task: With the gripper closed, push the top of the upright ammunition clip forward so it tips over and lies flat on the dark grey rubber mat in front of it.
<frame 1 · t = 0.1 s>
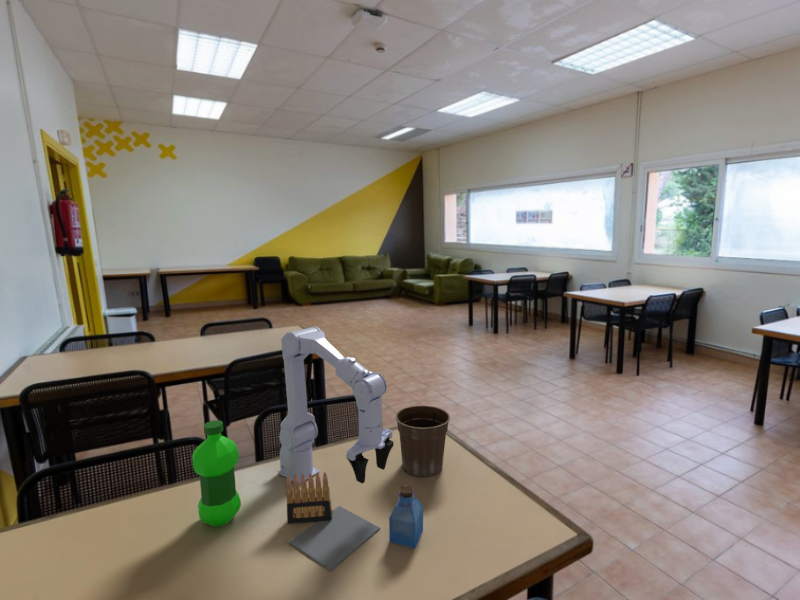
hand: (371, 474, 107), 10 cm above the table, tool pointing down, fingers open, 7 cm apart
plant pot: (422, 466, 129), on the table
ammunition clip: (310, 520, 105), on the table, touching rubber mat
perfume bottle: (406, 536, 100), on the table
plastic bottle: (220, 520, 106), on the table
rubber mat: (335, 535, 100), on the table
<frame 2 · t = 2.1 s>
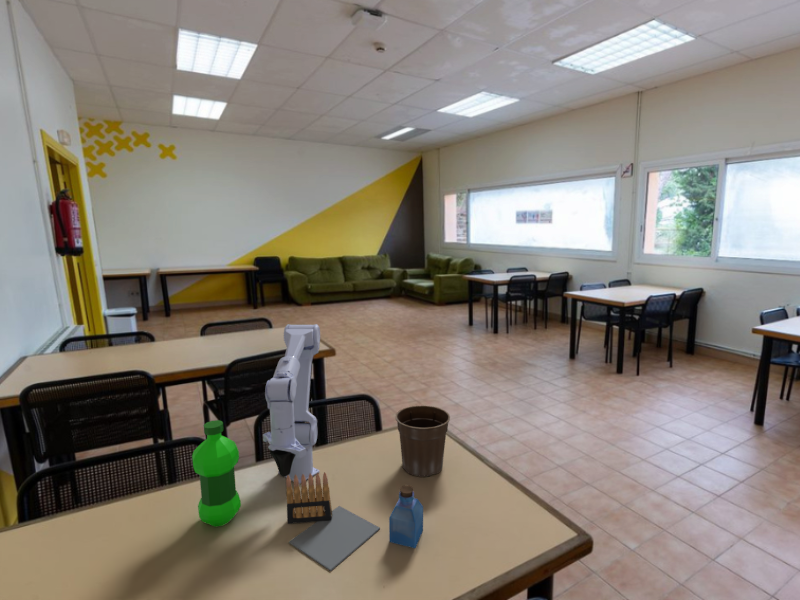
hand: (285, 474, 109), 9 cm above the table, tool pointing down, fingers closed
nothing on the table moved.
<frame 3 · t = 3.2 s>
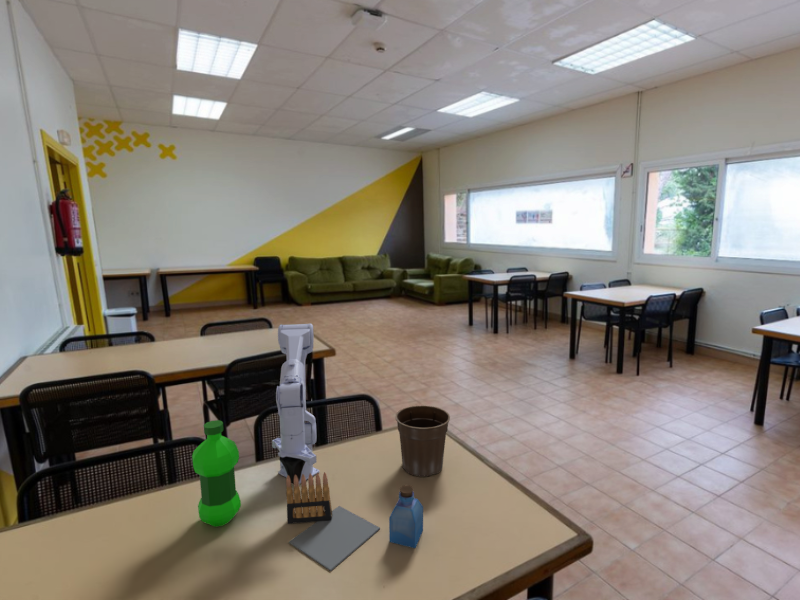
hand: (294, 481, 107), 8 cm above the table, tool pointing down, fingers closed
nothing on the table moved.
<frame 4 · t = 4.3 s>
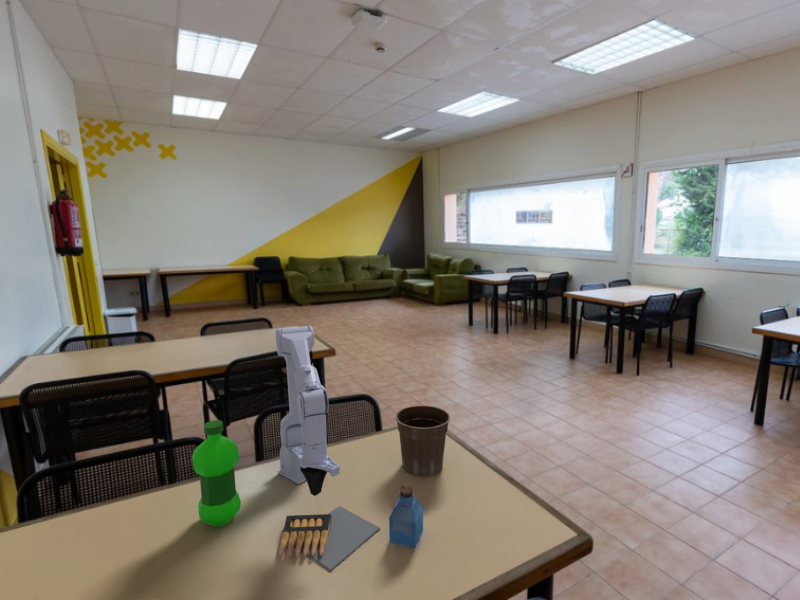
hand: (316, 493, 102), 8 cm above the table, tool pointing down, fingers closed
ammunition clip: (309, 517, 104), point 1 cm above the table, touching rubber mat
everything else where it was.
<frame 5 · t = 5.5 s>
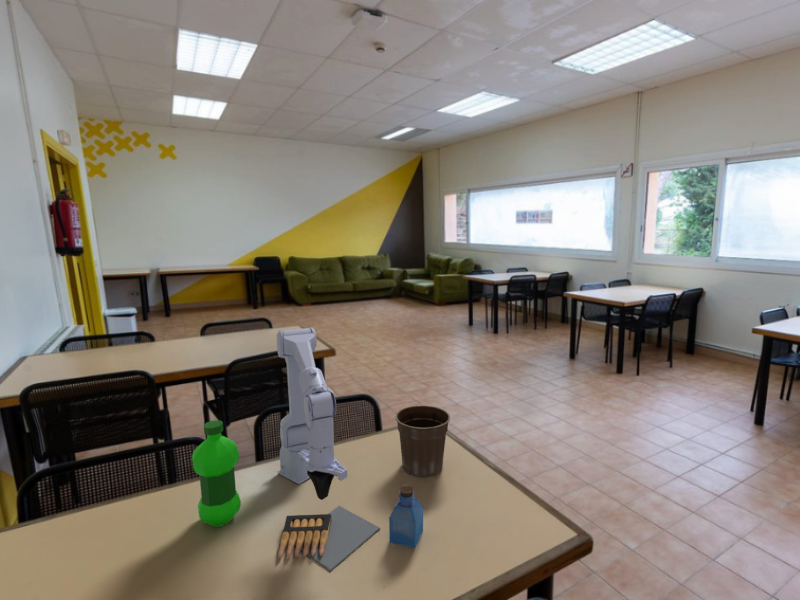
hand: (323, 496, 101), 8 cm above the table, tool pointing down, fingers closed
nothing on the table moved.
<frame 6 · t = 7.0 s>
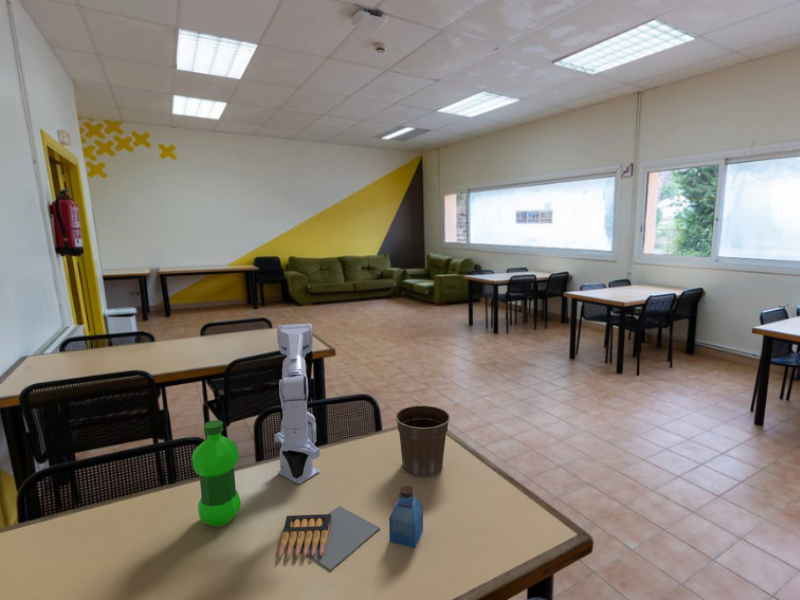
hand: (297, 476, 106), 10 cm above the table, tool pointing down, fingers closed
nothing on the table moved.
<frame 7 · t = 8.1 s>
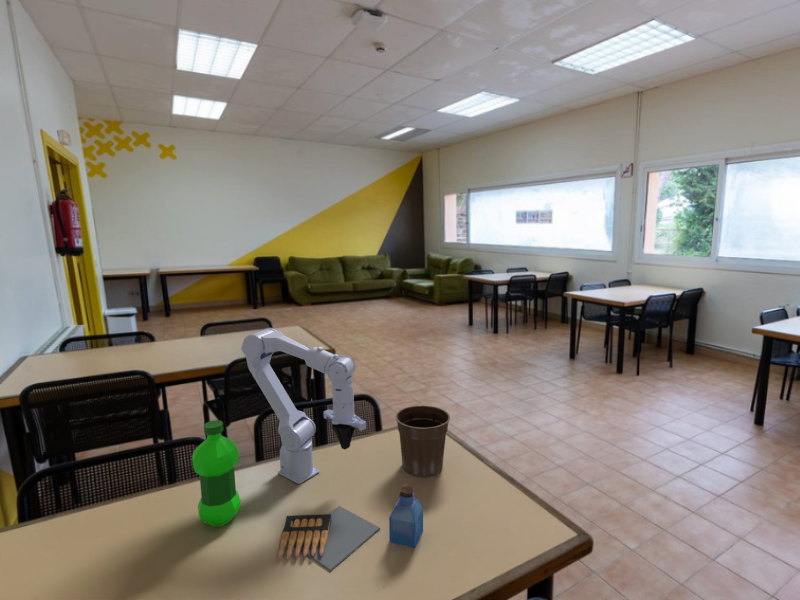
hand: (345, 447, 119), 10 cm above the table, tool pointing down, fingers closed
nothing on the table moved.
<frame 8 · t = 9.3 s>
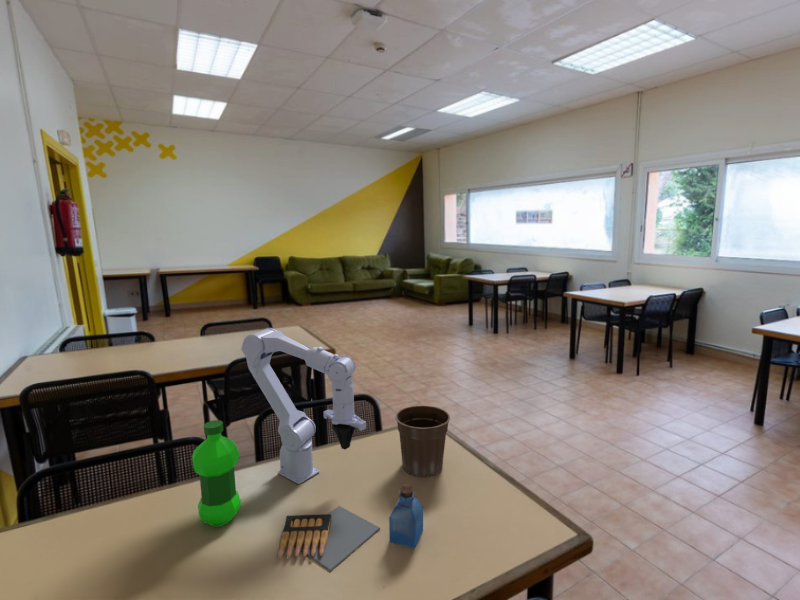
hand: (345, 447, 119), 10 cm above the table, tool pointing down, fingers closed
nothing on the table moved.
at the end: ammunition clip tilted 92°; ammunition clip touching rubber mat; ammunition clip inside the target area (3.0 cm from its centre), point 1.5 cm above the table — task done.
